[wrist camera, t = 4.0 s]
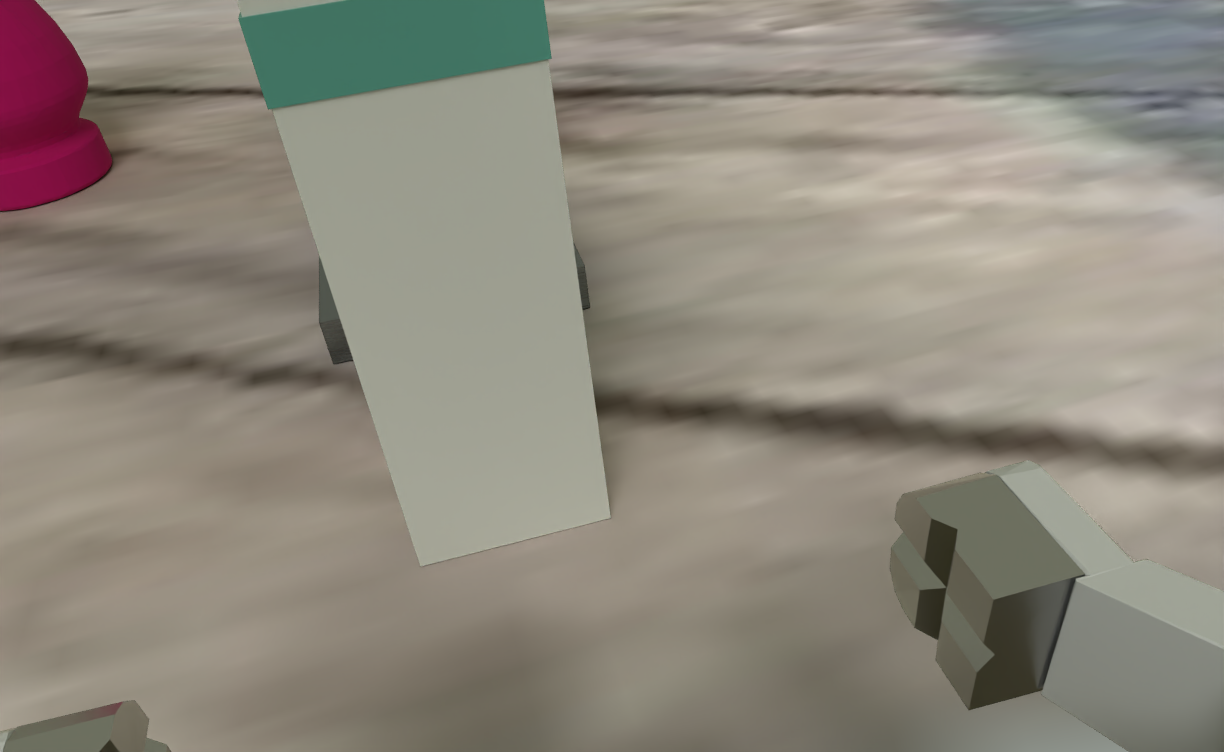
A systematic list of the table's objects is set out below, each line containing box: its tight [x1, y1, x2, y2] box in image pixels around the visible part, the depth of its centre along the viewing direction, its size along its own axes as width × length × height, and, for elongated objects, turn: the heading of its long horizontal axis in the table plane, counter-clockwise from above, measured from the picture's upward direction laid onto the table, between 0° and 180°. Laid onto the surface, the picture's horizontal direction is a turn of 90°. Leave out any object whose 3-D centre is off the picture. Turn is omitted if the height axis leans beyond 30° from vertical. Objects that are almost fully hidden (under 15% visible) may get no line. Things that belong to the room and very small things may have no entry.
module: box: [237, 0, 611, 567], centre depth 20 cm, size 7×5×14 cm
